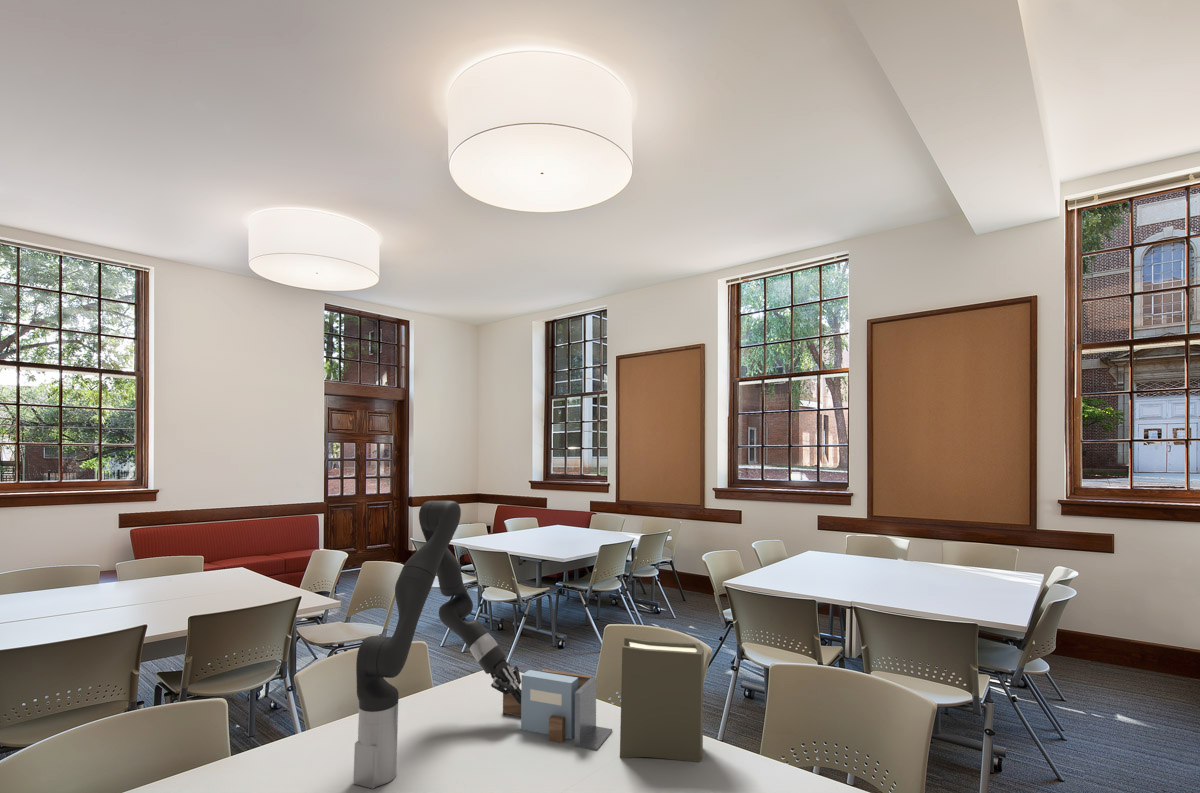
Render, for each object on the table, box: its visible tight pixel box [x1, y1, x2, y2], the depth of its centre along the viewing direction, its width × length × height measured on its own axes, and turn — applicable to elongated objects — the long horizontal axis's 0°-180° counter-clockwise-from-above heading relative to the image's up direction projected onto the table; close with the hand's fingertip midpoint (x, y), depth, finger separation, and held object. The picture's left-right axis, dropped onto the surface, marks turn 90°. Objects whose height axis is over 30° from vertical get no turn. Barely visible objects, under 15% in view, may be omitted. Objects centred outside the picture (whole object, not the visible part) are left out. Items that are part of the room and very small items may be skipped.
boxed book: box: [520, 669, 578, 740], centre depth 174 cm, size 5×16×15 cm, turn 67°
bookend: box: [574, 677, 613, 751], centre depth 169 cm, size 12×6×14 cm, turn 159°
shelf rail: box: [502, 668, 594, 744], centre depth 177 cm, size 12×29×14 cm, turn 69°
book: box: [619, 636, 705, 763], centre depth 163 cm, size 22×9×28 cm, turn 84°
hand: (523, 701), depth 178 cm, fingers closed
